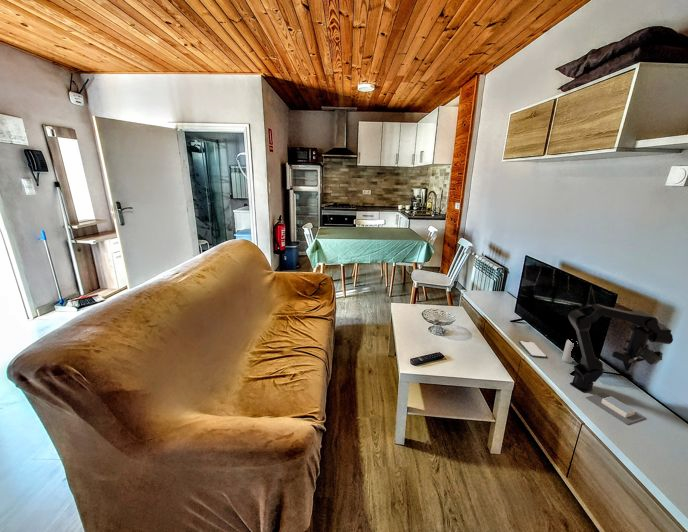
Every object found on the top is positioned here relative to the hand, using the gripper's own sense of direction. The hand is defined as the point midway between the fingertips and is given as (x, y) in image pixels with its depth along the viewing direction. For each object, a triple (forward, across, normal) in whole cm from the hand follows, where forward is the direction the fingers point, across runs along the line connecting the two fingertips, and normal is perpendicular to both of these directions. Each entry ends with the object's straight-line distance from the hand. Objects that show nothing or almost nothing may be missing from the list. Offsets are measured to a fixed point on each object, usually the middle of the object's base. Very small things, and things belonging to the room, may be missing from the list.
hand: (627, 370), depth 136 cm
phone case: (+13, -7, +40) cm, 42 cm away
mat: (+12, -14, -6) cm, 19 cm away
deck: (+10, -11, -7) cm, 17 cm away
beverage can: (+12, +2, +26) cm, 29 cm away
